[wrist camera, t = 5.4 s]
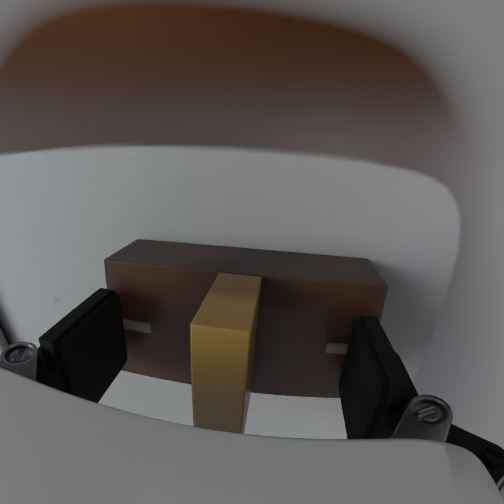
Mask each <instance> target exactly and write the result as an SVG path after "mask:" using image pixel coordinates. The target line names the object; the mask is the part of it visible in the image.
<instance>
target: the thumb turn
mask: <svg viewBox="0 0 504 504" xmlns="http://www.w3.org/2000/svg"><path fill="white" fill-rule="evenodd" d="M261 283H262V278H261V277H256V276H247V275H238V274H228V273H219V274H218V276H217V278H216V279H215V281H214V283H213V285H212V286H211V288H210V290H209V292H208V294H207V295H206V297H205V299H204V301H203V303H202V304H201V306H200V308H199V310H198V312H197V313H196V315H195V317H194V319H193V321H192V322H191V324H190V347H191V381H192V404H193V423H194V427H199V428H206V429H212V430H219V431H226V432H233V433H242V434H244V430H245V424H246V418H247V412H248V406H249V400H250V393H251V384H252V374H253V364H254V354H255V344H256V334H257V324H258V314H259V304H260V293H261Z"/></svg>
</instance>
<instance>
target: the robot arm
mask: <svg viewBox="0 0 504 504" xmlns="http://www.w3.org/2000/svg"><path fill="white" fill-rule="evenodd" d="M39 342H40V347H39V348H38V349H37V347H36V346H35V345H34V344H32V343H29V342H18V343H14V344H11V345H9V346H8V347H6V348H5V349H4V350H3V351H2V353H1V355H0V504H504V450H503V449H502V448H501V447H499V446H498V445H496V444H494V443H491V442H489V441H487V440H485V439H482V438H480V437H478V436H476V435H474V434H472V433H469V432H468V431H465V430H463V429H461V428H459V427H457V426H455V425H453V424H451V422H452V418H453V412H452V410H451V408H450V406H449V405H448V404H447V403H446V402H445V401H443V400H442V399H439V398H438V397H435V396H431V395H420V396H419V395H418V393H417V391H416V389H415V387H414V385H413V383H412V381H411V379H410V377H409V375H408V373H407V371H406V369H405V367H404V365H403V363H402V361H401V359H400V357H399V355H398V354H397V353H395V351H394V349H393V347H392V345H391V344H390V342H389V340H388V338H387V336H386V334H385V332H384V330H383V328H382V326H381V324H380V322H379V321H378V319H377V317H372V316H360V318H359V320H354V322H353V326H352V331H351V335H350V339H349V343H348V348H347V352H346V356H345V360H344V363H343V367H342V371H341V375H340V379H339V385H338V388H339V394H340V399H341V405H342V410H343V416H344V421H345V427H346V432H347V438H348V439H304V438H285V437H272V436H261V435H251V434H242V433H233V432H226V431H219V430H212V429H206V428H199V427H194V426H188V425H183V424H178V423H173V422H168V421H163V420H159V419H154V418H150V417H146V416H142V415H138V414H134V413H130V412H126V411H123V410H119V409H115V408H112V407H109V406H105V405H102V404H99V403H98V402H99V400H100V399H101V398H102V396H103V395H104V393H105V392H106V390H107V389H108V388H109V386H110V385H111V383H112V382H113V381H114V379H115V378H116V376H117V375H118V373H119V372H120V371H121V369H122V368H123V366H124V365H125V364H126V362H127V358H128V354H127V347H126V340H125V333H124V326H123V318H122V310H121V301H120V296H119V295H117V294H116V292H115V291H114V290H109V289H103V288H100V289H99V290H97V291H96V292H95V293H93V294H92V295H91V296H90V297H88V298H87V299H86V300H85V301H83V302H82V303H81V304H80V305H78V306H77V307H76V308H75V309H73V310H72V311H71V312H70V313H69V314H67V315H66V316H65V317H64V318H62V319H61V320H60V321H59V322H58V323H56V324H55V325H54V326H53V327H52V328H50V329H49V330H48V331H47V332H46V333H44V334H43V335H42V336H41V337H40V338H39Z"/></svg>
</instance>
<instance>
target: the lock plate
mask: <svg viewBox="0 0 504 504" xmlns="http://www.w3.org/2000/svg"><path fill="white" fill-rule="evenodd" d="M104 263H105V274H106V284H107V289H109V290H114V291H115V292H116V294H117V295H119V296H120V301H121V310H122V318H123V326H124V333H125V340H126V347H127V354H128V358H127V362H126V364H125V365H124V366H123V368H122V369H121V370H123V371H127V372H132V373H136V374H141V375H145V376H150V377H155V378H160V379H165V380H170V381H176V382H181V383H187V384H192V381H191V347H190V324H191V322H192V321H193V319H194V317H195V315H196V313H197V312H198V310H199V308H200V306H201V304H202V303H203V301H204V299H205V297H206V295H207V294H208V292H209V290H210V288H211V286H212V285H213V283H214V281H215V279H216V278H217V276H218V274H219V273H228V274H238V275H247V276H256V277H261V278H262V283H261V293H260V304H259V314H258V324H257V334H256V344H255V354H254V364H253V374H252V384H251V392H253V393H263V394H274V395H287V396H303V397H325V398H340V394H339V388H338V385H339V379H340V375H341V371H342V367H343V363H344V360H345V356H346V352H347V348H348V343H349V339H350V335H351V331H352V326H353V322H354V320H359V318H360V316H372V317H377V319H378V321H379V322H380V319H381V315H382V311H383V306H384V302H385V298H386V293H387V289H388V285H387V284H386V282H385V281H384V280H383V278H382V277H381V276H380V275H379V273H378V272H377V271H376V269H375V268H374V267H373V265H372V264H371V263H370V262H369V260H368V259H362V258H351V257H339V256H328V255H316V254H305V253H293V252H282V251H270V250H258V249H247V248H235V247H223V246H211V245H199V244H188V243H176V242H164V241H152V240H140V239H137V240H136V241H134V242H132V243H131V244H129V245H127V246H126V247H124V248H122V249H121V250H119V251H117V252H116V253H114V254H113V255H111V256H109V257H108V258H106V259H105V260H104Z"/></svg>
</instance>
